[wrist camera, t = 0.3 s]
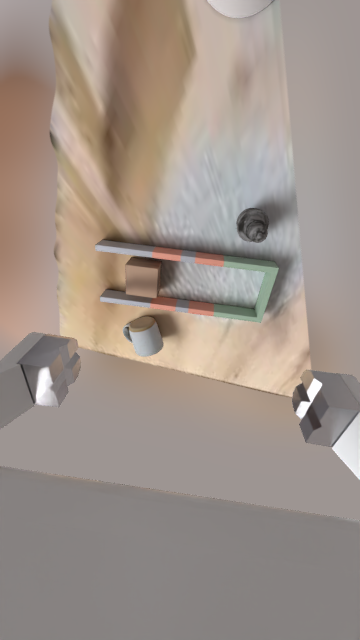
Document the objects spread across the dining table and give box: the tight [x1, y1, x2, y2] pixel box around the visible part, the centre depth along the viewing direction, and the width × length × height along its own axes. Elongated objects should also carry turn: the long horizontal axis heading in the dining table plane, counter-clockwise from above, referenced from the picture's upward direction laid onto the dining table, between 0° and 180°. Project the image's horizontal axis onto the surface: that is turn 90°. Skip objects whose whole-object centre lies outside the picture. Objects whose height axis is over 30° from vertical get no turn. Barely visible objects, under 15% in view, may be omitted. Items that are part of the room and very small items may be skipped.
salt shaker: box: [237, 208, 269, 243], centre depth 45 cm, size 6×6×12 cm
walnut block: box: [125, 257, 162, 298], centre depth 56 cm, size 7×7×5 cm
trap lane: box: [95, 240, 279, 323], centre depth 56 cm, size 13×38×4 cm, turn 84°
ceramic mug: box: [123, 317, 163, 356], centre depth 63 cm, size 11×8×8 cm
